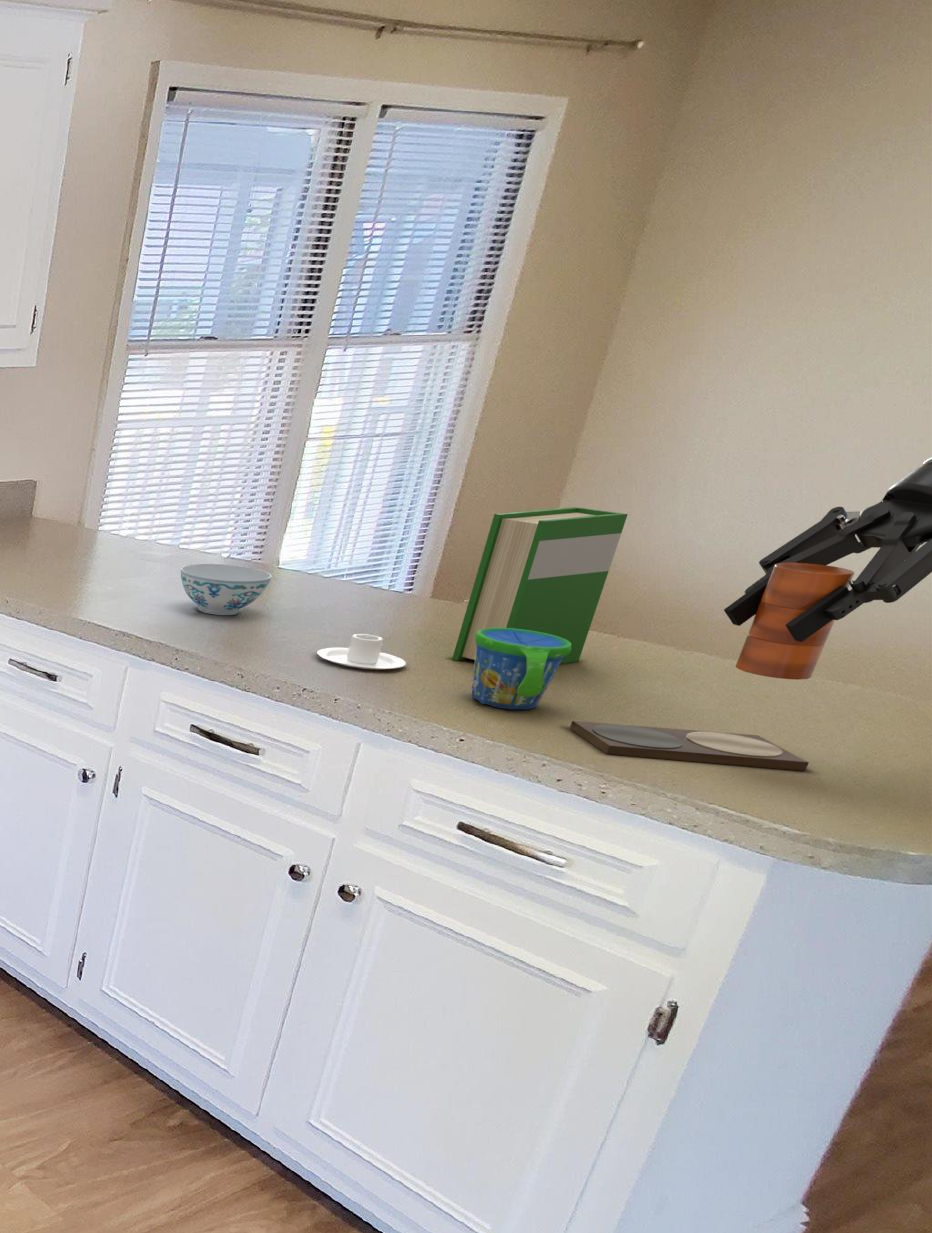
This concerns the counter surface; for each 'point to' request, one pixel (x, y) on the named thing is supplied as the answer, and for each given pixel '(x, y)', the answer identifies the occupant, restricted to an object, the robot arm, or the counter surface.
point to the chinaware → (223, 586)
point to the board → (687, 745)
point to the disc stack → (781, 603)
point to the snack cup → (515, 666)
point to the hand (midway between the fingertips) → (762, 625)
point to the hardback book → (542, 575)
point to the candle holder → (362, 654)
